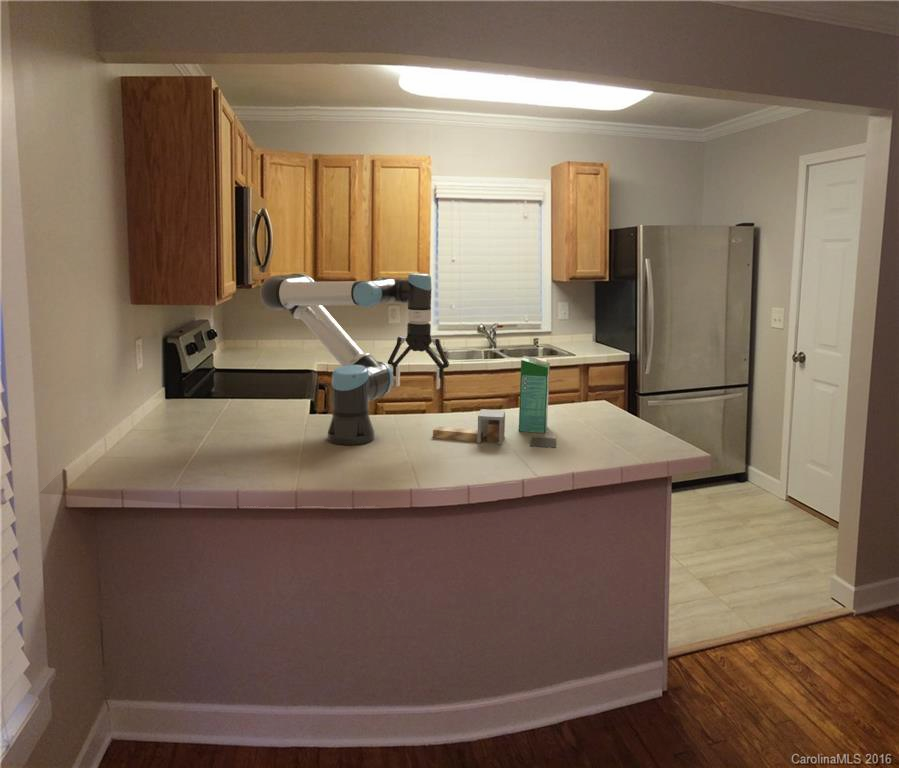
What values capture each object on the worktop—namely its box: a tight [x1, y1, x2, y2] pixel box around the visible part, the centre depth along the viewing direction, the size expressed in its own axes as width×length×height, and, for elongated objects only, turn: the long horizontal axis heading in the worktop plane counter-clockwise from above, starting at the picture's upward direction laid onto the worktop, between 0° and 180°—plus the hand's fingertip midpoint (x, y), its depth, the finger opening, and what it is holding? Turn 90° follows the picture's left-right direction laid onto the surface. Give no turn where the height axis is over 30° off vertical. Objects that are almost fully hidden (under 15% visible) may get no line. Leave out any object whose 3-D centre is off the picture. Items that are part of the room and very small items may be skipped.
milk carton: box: [518, 354, 551, 434], centre depth 246 cm, size 9×9×25 cm
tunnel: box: [476, 408, 506, 445], centre depth 234 cm, size 8×9×9 cm
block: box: [486, 420, 505, 444], centre depth 234 cm, size 5×5×6 cm
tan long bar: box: [432, 426, 484, 442], centre depth 236 cm, size 16×4×3 cm, turn 75°
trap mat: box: [529, 436, 557, 449], centre depth 232 cm, size 8×10×1 cm
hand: (417, 387), depth 235 cm, fingers open, 13 cm apart
